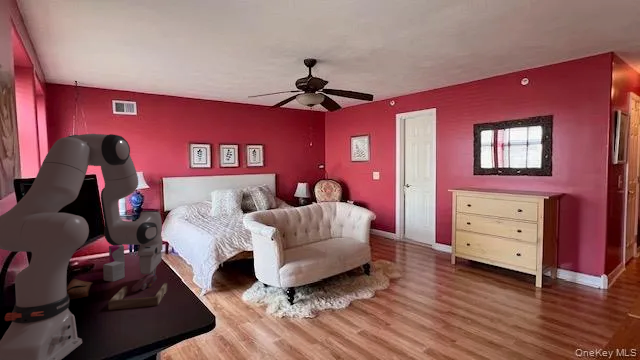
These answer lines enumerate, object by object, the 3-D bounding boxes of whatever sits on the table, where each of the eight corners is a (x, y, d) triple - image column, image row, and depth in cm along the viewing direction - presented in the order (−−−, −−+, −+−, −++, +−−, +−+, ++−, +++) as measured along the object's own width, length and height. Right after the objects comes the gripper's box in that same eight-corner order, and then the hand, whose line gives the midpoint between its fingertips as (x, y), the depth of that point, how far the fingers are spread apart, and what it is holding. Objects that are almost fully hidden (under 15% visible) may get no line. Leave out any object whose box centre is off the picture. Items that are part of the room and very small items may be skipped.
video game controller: (138, 296, 135) (144, 282, 134) (129, 291, 136) (135, 276, 135) (155, 287, 145) (160, 274, 144) (146, 282, 145) (152, 269, 144)
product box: (115, 276, 156) (115, 260, 156) (125, 277, 154) (124, 262, 154) (103, 280, 150) (102, 264, 150) (112, 281, 148) (112, 265, 148)
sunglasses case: (89, 296, 132) (78, 283, 130) (71, 308, 129) (59, 295, 127) (93, 282, 147) (83, 271, 145) (76, 293, 144) (66, 281, 142)
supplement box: (122, 265, 173) (121, 243, 172) (125, 268, 168) (124, 245, 168) (109, 267, 169) (108, 245, 168) (111, 270, 164) (111, 247, 164)
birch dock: (157, 305, 123) (157, 297, 123) (108, 309, 119) (108, 301, 119) (167, 290, 138) (167, 283, 138) (124, 293, 134) (123, 286, 134)
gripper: (150, 242, 155) (151, 271, 155) (136, 253, 135) (137, 286, 135) (164, 241, 156) (165, 270, 157) (152, 252, 136) (153, 285, 137)
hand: (152, 277), depth 146 cm, fingers closed
